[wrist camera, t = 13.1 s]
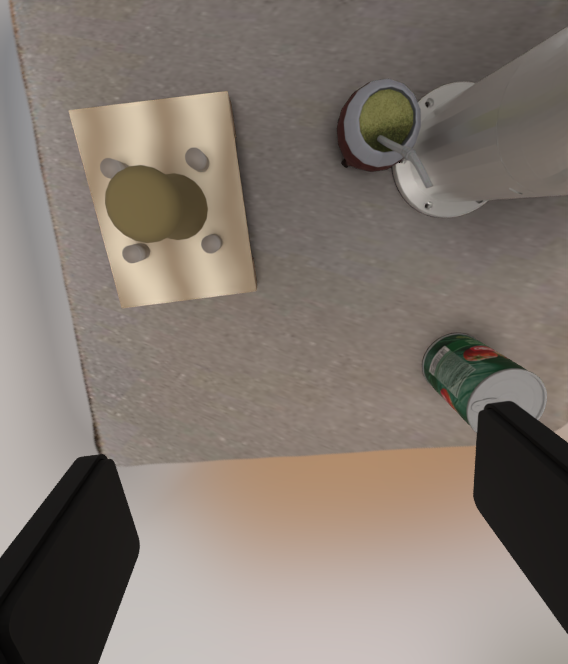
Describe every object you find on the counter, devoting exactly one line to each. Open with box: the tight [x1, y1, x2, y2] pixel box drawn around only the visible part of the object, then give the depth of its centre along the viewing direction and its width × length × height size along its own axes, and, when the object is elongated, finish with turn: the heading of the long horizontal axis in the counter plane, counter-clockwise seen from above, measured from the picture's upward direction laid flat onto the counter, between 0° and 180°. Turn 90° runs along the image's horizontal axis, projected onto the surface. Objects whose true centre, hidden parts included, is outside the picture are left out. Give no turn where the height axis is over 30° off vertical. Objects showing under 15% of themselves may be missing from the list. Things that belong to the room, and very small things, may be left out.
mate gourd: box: [337, 79, 433, 188], centre depth 30 cm, size 8×8×15 cm
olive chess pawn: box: [105, 165, 208, 243], centre depth 29 cm, size 6×6×11 cm
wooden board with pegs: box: [69, 91, 257, 308], centre depth 35 cm, size 14×18×7 cm
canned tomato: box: [422, 333, 547, 433], centre depth 40 cm, size 8×8×11 cm
